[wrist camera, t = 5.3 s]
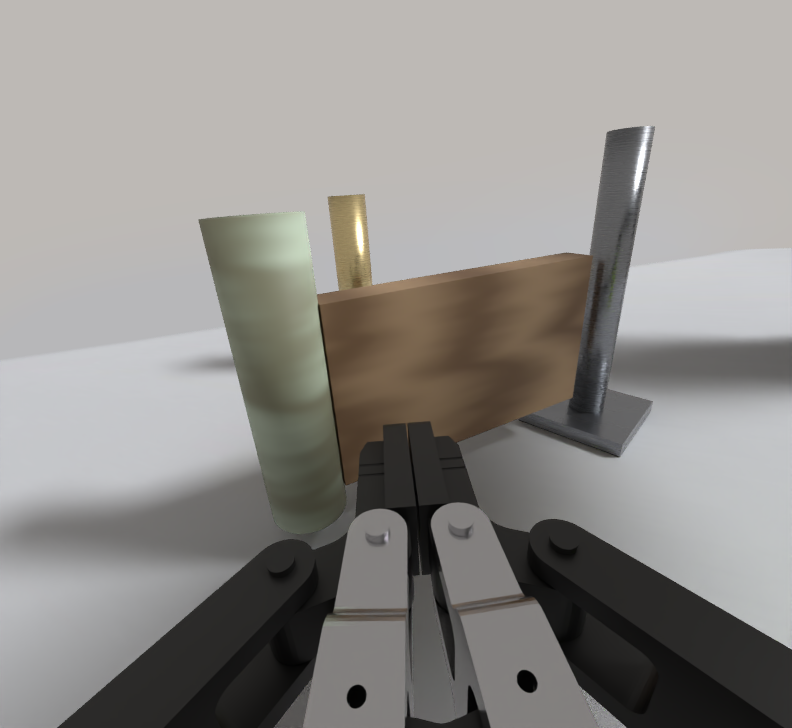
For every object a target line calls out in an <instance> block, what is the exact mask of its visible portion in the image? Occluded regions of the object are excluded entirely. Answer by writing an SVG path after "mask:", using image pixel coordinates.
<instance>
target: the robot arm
mask: <svg viewBox="0 0 792 728" xmlns="http://www.w3.org/2000/svg"><path fill="white" fill-rule="evenodd" d="M407 427H408V438H407V430H406V423H399V424H386V425H383V441H374V442H367V443H366V444H365V446H364V447H363V449H362V450H361V452H360V457H359V472H358V487H357V502H356V516H355V519H354V520H353V522H352V523H351V525H350V527H349V530H348V532H347V533H346V534H345V535H344V536H343V537H341V538H340V539H338V540H337V541H335V542H333V543H331V544H328V545H325V546H323V547H320V548H317V549H315V550H312V548H311V547H310V546H309V545H308V544H307V543H305V542H303V541H300V540H295V539H288V540H282V541H279V542H276V543H274V544H272V545H270V546H268V547H267V548H265V549H264V550H263V551H262V552H260V553H259V554H258V555H257V556H256V557H255V558H253V559H252V560H251V561H250V562H249V563H248V564H247V565H245V566H244V567H243V568H242V569H241V570H240V571H238V572H237V573H236V574H235V575H234V576H233V577H231V578H230V579H229V580H228V581H227V582H226V583H224V584H223V585H222V586H221V587H220V588H219V589H218V590H216V591H215V592H214V593H213V594H212V595H211V596H209V597H208V598H207V599H206V600H205V601H204V602H202V603H201V604H200V605H199V606H198V607H197V608H195V609H194V610H193V611H192V612H191V613H190V614H189V615H187V616H186V617H185V618H184V619H183V620H182V621H180V622H179V623H178V624H177V625H176V626H175V627H173V628H172V629H171V630H170V631H169V632H168V633H166V634H165V635H164V636H163V637H162V638H161V639H160V640H158V641H157V642H156V643H155V644H154V645H153V646H151V647H150V648H149V649H148V650H147V651H146V652H144V653H143V654H142V655H141V656H140V657H139V658H137V659H136V660H135V661H134V662H133V663H132V664H131V665H129V666H128V667H127V668H126V669H125V670H124V671H122V672H121V673H120V674H119V675H118V676H117V677H115V678H114V679H113V680H112V681H111V682H110V683H108V684H107V685H106V686H105V687H104V688H103V689H102V690H100V691H99V692H98V693H97V694H96V695H95V696H93V697H92V698H91V699H90V700H89V701H88V702H86V703H85V704H84V705H83V706H82V707H81V708H79V709H78V710H77V711H76V712H75V713H74V714H73V715H71V716H70V717H69V718H68V719H67V720H66V721H64V722H63V723H62V724H61V725H60V726H59V727H57V728H274V726H275V725H276V724H277V723H278V721H279V720H280V719H281V717H282V716H283V715H284V713H285V712H286V711H287V710H288V708H289V707H290V706H291V704H292V703H293V702H294V700H295V699H296V698H297V697H298V695H299V694H300V693H301V691H302V690H303V689H304V687H305V686H306V685H307V684H308V682H309V681H310V680H311V678H312V677H313V678H312V683H311V688H310V693H309V698H308V703H307V708H306V713H305V718H304V723H303V728H599V727H598V725H597V722H596V720H595V718H594V716H593V714H592V712H591V710H590V708H589V706H588V704H587V702H586V699H585V697H584V695H583V693H582V691H581V689H580V687H581V688H582V689H584V690H585V691H586V692H587V693H588V694H589V695H590V696H592V697H593V698H594V699H595V700H596V701H597V702H598V703H600V704H601V705H602V706H603V707H604V708H605V709H606V710H608V711H609V712H610V713H611V714H612V715H613V716H614V717H616V718H617V719H618V720H619V721H620V722H621V723H622V724H624V725H625V726H626V727H627V728H792V650H791V649H790V648H788V647H786V646H785V645H783V644H781V643H779V642H778V641H776V640H774V639H772V638H771V637H769V636H767V635H765V634H764V633H762V632H760V631H759V630H757V629H755V628H753V627H752V626H750V625H748V624H746V623H745V622H743V621H741V620H740V619H738V618H736V617H734V616H733V615H731V614H729V613H727V612H726V611H724V610H722V609H721V608H719V607H717V606H715V605H714V604H712V603H710V602H708V601H707V600H705V599H703V598H702V597H700V596H698V595H696V594H695V593H693V592H691V591H689V590H688V589H686V588H684V587H683V586H681V585H679V584H677V583H676V582H674V581H672V580H670V579H669V578H667V577H665V576H664V575H662V574H660V573H658V572H657V571H655V570H653V569H651V568H650V567H648V566H646V565H644V564H643V563H641V562H639V561H638V560H636V559H634V558H632V557H631V556H629V555H627V554H625V553H624V552H622V551H620V550H619V549H617V548H615V547H613V546H612V545H610V544H608V543H606V542H605V541H603V540H601V539H600V538H598V537H596V536H594V535H593V534H591V533H589V532H587V531H586V530H584V529H582V528H581V527H579V526H577V525H575V524H573V523H570V522H568V521H564V520H558V519H548V520H543V521H540V522H538V523H537V524H535V525H534V526H533V528H532V529H531V531H530V533H529V532H524V531H518V530H513V529H508V528H505V527H502V526H499V525H497V524H495V523H494V522H492V521H490V520H489V518H488V516H487V515H486V514H485V513H484V512H483V511H482V510H481V509H479V506H478V504H477V500H476V497H475V494H474V491H473V488H472V485H471V482H470V479H469V476H468V473H467V470H466V468H465V464H464V461H463V459H462V455H461V452H460V448H459V445H458V444H457V443H456V442H455V441H454V440H453V439H451V438H450V437H449V436H437V437H434V434H433V430H432V426H431V422H430V421H424V422H411V423H407ZM408 445H409V446H408ZM418 544H419V552H420V560H421V569H422V575H427V574H431V579H432V586H433V603H434V610H435V614H436V619H437V623H438V628H439V633H440V637H441V642H442V647H443V651H444V656H445V660H446V665H447V670H448V674H449V679H450V684H451V688H452V694H453V700H454V708H455V716H456V719H455V720H453V721H451V722H448V723H443V724H440V723H434V722H430V721H426V720H422V719H418V718H414V698H413V610H412V604H413V600H414V582H413V576H417V575H420V572H419V553H418ZM579 686H580V687H579Z"/></svg>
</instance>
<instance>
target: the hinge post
mask: <svg viewBox="0 0 792 728" xmlns="http://www.w3.org/2000/svg"><path fill="white" fill-rule="evenodd" d="M654 130H655V127H653V126H643V127H632V128H624V129H618V130H613V131H609V132H607V135H606V143H605V150H604V157H603V164H602V171H601V178H600V186H599V192H598V199H597V207H596V214H595V221H594V228H593V236H592V242H591V249H590V255H592V256H593V259H592V266H591V272H590V279H589V286H588V293H587V300H586V307H585V314H584V321H583V328H582V335H581V342H580V349H579V356H578V363H577V370H576V377H575V384H574V391H573V398H570V399H568V400H565V401H562V402H560V403H557V404H555V405H552V406H550V407H547V408H544V409H542V410H539V411H537V412H534V413H531V414H529V415H526V416H524V417H521V418H519V420H521V421H524V422H526V423H529V424H532V425H534V426H537V427H540V428H543V429H545V430H548V431H551V432H554V433H556V434H559V435H562V436H564V437H567V438H570V439H573V440H575V441H578V442H581V443H583V444H586V445H589V446H592V447H594V448H597V449H600V450H603V451H605V452H608V453H611V454H613V455H616V456H619V457H620V456H621V454H622V453H623V452H624V450H625V449H626V447H627V446H628V444H629V443H630V441H631V440H632V438H633V437H634V435H635V434H636V432H637V431H638V429H639V428H640V426H641V425H642V423H643V422H644V420H645V419H646V418H647V416H648V415H649V413H650V411H651V406H652V402H653V401H649V400H646V399H642V398H638V397H634V396H631V395H627V394H623V393H619V392H616V391H612V390H608V389H607V387H608V381H609V376H610V370H611V365H612V359H613V354H614V348H615V343H616V337H617V332H618V327H619V321H620V316H621V310H622V305H623V299H624V294H625V288H626V283H627V278H628V272H629V267H630V261H631V256H632V250H633V245H634V239H635V234H636V228H637V223H638V218H639V212H640V207H641V201H642V196H643V190H644V185H645V179H646V174H647V169H648V163H649V157H650V152H651V147H652V141H653V135H654Z"/></svg>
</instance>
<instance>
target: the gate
mask: <svg viewBox="0 0 792 728" xmlns="http://www.w3.org/2000/svg"><path fill="white" fill-rule="evenodd" d="M199 224H200V228H201V232H202V236H203V240H204V244H205V248H206V252H207V255H208V260H209V264H210V268H211V272H212V275H213V280H214V284H215V287H216V292H217V296H218V300H219V303H220V308H221V312H222V315H223V319H224V323H225V327H226V331H227V335H228V339H229V343H230V347H231V351H232V355H233V359H234V363H235V367H236V371H237V375H238V379H239V383H240V387H241V391H242V395H243V399H244V403H245V407H246V411H247V415H248V419H249V423H250V427H251V431H252V435H253V439H254V443H255V447H256V451H257V455H258V458H259V462H260V466H261V470H262V474H263V478H264V482H265V486H266V490H267V494H268V498H269V502H270V506H271V510H272V514H273V518H274V521H275V523H276V524H277V526H278V527H279V528H281V529H282V530H284V531H286V532H289V533H293V534H307V533H312V532H316V531H319V530H321V529H324V528H326V527H327V526H329V525H331V524H332V523H333V522H335V521H336V520H337V519H338V518H339V517H340V515H341V514H342V512H343V511H344V509H345V506H346V492H345V485H349V484H351V483H354V482H356V481H358V472H359V457H360V452H361V450H362V449H363V447H364V446H365V444H366V443H367V442H374V441H383V425H386V424H399V423H406V430H407V438H408V427H407V423H411V422H424V421H430V422H431V426H432V430H433V434H434V437H437V436H449V437H450V438H451V439H453V440H454V441H455V442H456V443H457V442H459V441H462V440H464V439H467V438H470V437H472V436H475V435H477V434H480V433H483V432H485V431H488V430H490V429H493V428H495V427H498V426H501V425H503V424H506V423H508V422H511V421H513V420H516V419H519V418H521V417H524V416H526V415H529V414H531V413H534V412H537V411H539V410H542V409H544V408H547V407H550V406H552V405H555V404H557V403H560V402H562V401H565V400H568V399H570V398H573V391H574V384H575V377H576V370H577V363H578V356H579V349H580V342H581V335H582V328H583V321H584V314H585V307H586V300H587V293H588V286H589V279H590V272H591V266H592V259H593V256H592V255H582V254H574V253H561V254H555V255H549V256H543V257H537V258H531V259H525V260H519V261H513V262H508V263H501V264H495V265H490V266H484V267H478V268H472V269H466V270H460V271H454V272H448V273H442V274H436V275H430V276H424V277H418V278H412V279H407V280H400V281H395V282H390V283H383V284H377V285H371V286H365V287H359V288H353V289H347V290H341V291H335V292H329V293H323V294H317V293H316V287H315V279H314V272H313V265H312V258H311V251H310V245H309V238H308V231H307V224H306V217H305V212H283V213H267V214H252V215H239V216H227V217H217V218H207V219H199ZM408 446H409V445H408ZM344 483H345V485H344Z"/></svg>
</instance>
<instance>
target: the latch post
mask: <svg viewBox="0 0 792 728" xmlns="http://www.w3.org/2000/svg"><path fill="white" fill-rule="evenodd" d="M328 204H329V212H330V220H331V229H332V236H333V245H334V252H335V261H336V270H337V278H338V286H339V291H341V290H347V289H353V288H359V287H365V286H371V285H372V276H371V264H370V252H369V240H368V230H367V216H366V205H365V195H348V196H347V195H346V196H331V197H328Z"/></svg>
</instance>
